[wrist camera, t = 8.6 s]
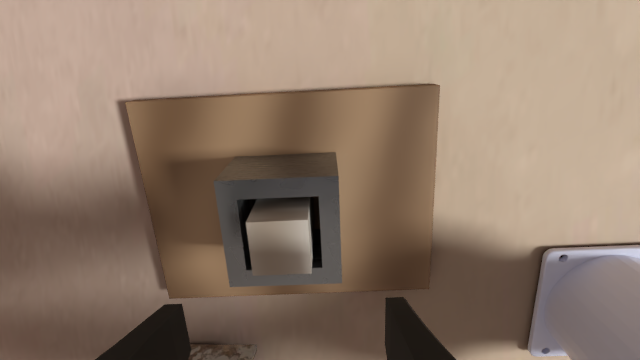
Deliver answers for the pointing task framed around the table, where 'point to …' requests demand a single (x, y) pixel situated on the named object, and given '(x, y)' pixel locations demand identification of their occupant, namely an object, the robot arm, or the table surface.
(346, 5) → the table surface
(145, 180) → the post board
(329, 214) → the square hub
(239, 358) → the caster wheel
